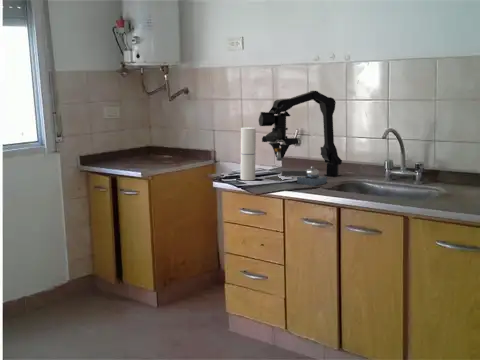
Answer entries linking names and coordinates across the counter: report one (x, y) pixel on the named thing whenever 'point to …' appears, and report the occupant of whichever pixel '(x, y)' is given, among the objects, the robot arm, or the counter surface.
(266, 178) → the rubber pad
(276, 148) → the chuck key
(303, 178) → the chuck base
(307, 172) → the chuck collar
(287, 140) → the robot arm
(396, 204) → the counter surface
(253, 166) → the cylindrical container
